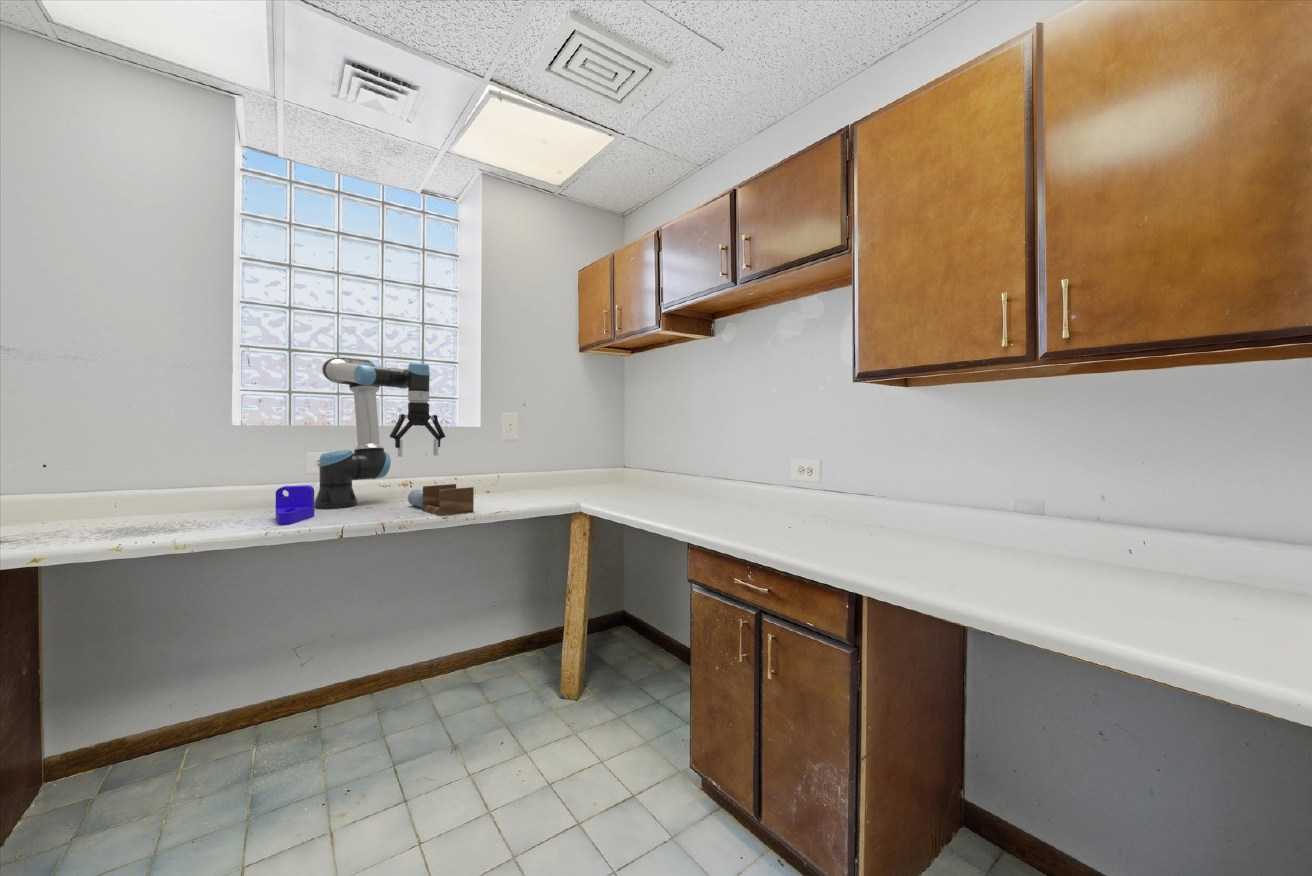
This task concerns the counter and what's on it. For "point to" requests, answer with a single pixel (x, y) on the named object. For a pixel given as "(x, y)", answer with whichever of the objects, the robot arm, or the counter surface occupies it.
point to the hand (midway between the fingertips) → (418, 456)
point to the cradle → (447, 499)
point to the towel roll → (416, 498)
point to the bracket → (294, 504)
